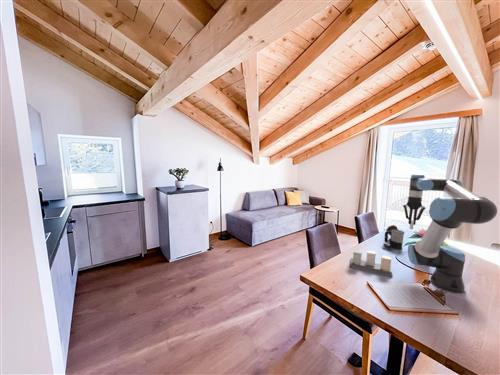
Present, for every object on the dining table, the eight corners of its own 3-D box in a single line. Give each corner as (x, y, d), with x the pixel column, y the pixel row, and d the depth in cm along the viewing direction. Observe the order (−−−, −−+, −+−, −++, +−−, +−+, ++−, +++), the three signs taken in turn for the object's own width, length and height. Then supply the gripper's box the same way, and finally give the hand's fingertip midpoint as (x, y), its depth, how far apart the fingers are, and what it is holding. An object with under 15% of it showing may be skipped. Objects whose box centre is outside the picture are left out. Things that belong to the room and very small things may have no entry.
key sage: (352, 261, 151) (353, 249, 150) (360, 263, 149) (361, 251, 147) (352, 264, 147) (353, 252, 146) (360, 265, 145) (361, 253, 143)
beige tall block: (380, 267, 143) (381, 255, 142) (389, 269, 141) (390, 256, 139) (380, 270, 139) (382, 257, 138) (389, 272, 137) (391, 259, 136)
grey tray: (350, 259, 157) (351, 255, 157) (390, 268, 146) (390, 264, 145) (349, 267, 147) (350, 262, 146) (392, 277, 135) (393, 272, 134)
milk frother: (402, 247, 183) (404, 230, 181) (403, 253, 169) (405, 236, 167) (382, 243, 190) (384, 227, 188) (382, 249, 177) (384, 232, 175)
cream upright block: (366, 262, 151) (367, 250, 149) (374, 263, 148) (375, 251, 147) (366, 264, 147) (367, 252, 145) (374, 266, 144) (375, 254, 143)
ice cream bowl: (402, 242, 192) (403, 226, 190) (389, 242, 193) (391, 226, 191) (394, 238, 203) (396, 223, 201) (382, 238, 203) (384, 223, 201)
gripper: (425, 196, 147) (421, 228, 150) (403, 194, 153) (399, 225, 156) (428, 198, 140) (424, 231, 144) (404, 196, 146) (400, 228, 150)
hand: (411, 228), depth 150 cm, fingers closed
